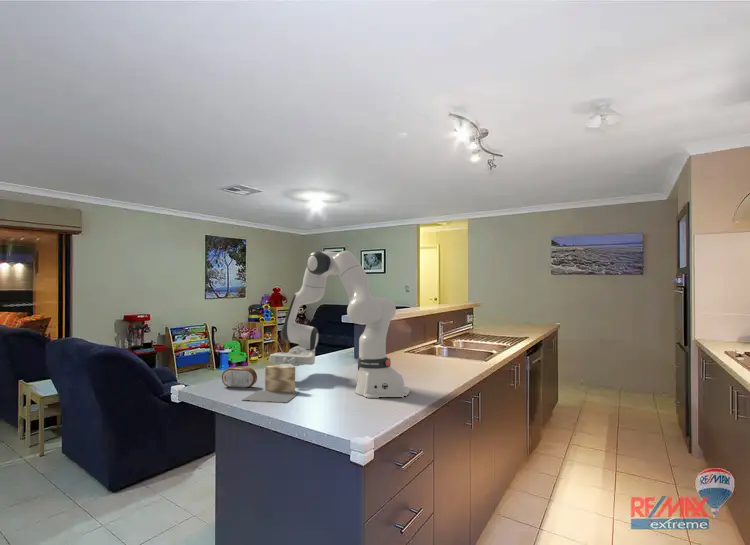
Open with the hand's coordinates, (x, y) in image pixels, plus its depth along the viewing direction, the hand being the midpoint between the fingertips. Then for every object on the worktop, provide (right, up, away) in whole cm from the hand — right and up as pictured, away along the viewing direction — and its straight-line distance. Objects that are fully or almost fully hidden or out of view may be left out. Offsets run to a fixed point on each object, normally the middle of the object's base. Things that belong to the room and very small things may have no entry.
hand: (285, 362), depth 161 cm
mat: (-2, -10, -15) cm, 18 cm away
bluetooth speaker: (-20, -11, -1) cm, 23 cm away
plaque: (-1, -10, -7) cm, 13 cm away
